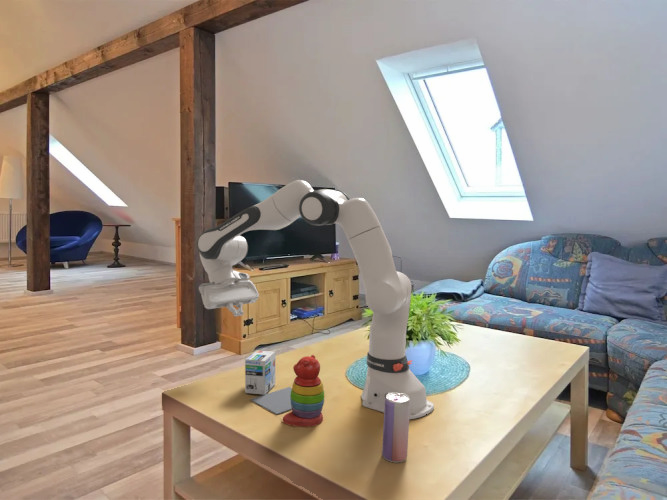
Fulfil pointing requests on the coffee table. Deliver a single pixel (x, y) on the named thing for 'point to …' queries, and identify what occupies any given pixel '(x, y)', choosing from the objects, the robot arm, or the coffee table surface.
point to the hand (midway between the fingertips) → (239, 315)
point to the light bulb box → (260, 372)
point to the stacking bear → (306, 394)
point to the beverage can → (396, 427)
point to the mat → (275, 401)
